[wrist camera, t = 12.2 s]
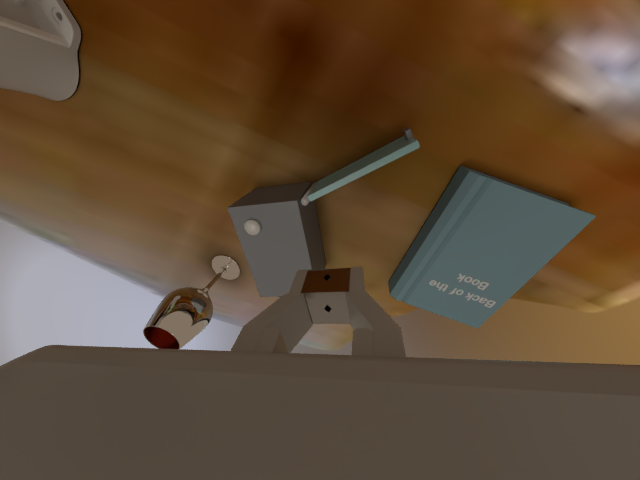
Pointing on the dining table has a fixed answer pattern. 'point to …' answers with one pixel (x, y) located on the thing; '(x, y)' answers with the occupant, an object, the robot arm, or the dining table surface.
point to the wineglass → (186, 310)
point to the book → (482, 246)
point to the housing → (278, 235)
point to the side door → (363, 166)
